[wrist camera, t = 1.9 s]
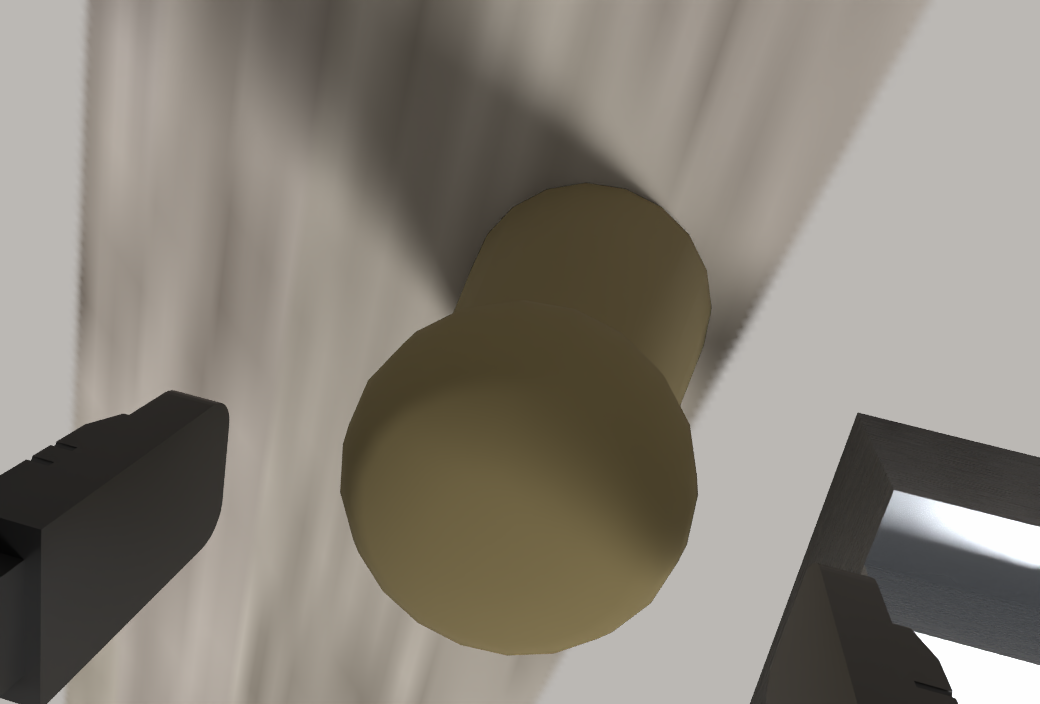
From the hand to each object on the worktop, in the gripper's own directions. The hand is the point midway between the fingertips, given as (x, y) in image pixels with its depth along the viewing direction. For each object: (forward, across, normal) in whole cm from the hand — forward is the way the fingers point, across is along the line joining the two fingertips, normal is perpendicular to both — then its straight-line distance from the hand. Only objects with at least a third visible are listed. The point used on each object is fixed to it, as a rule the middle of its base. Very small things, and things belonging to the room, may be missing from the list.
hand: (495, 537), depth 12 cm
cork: (+11, 0, 0) cm, 11 cm away
